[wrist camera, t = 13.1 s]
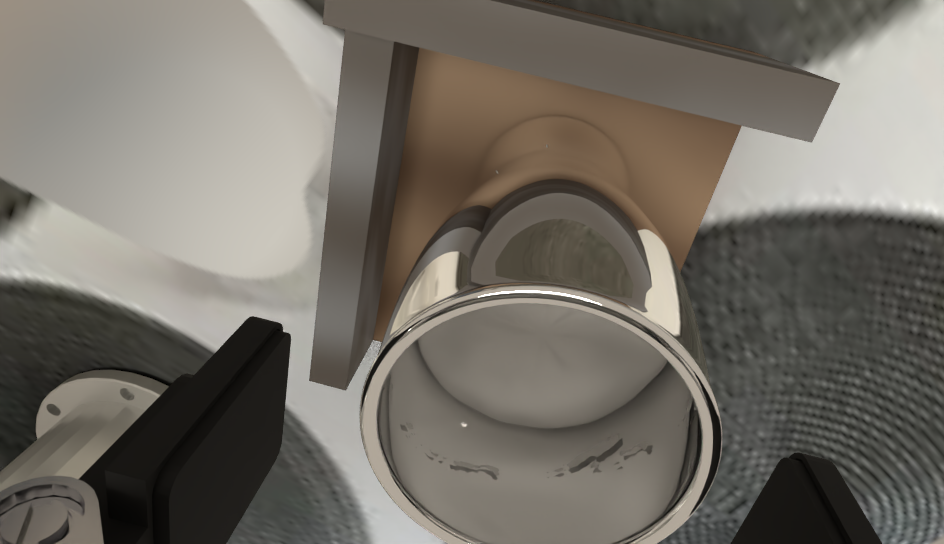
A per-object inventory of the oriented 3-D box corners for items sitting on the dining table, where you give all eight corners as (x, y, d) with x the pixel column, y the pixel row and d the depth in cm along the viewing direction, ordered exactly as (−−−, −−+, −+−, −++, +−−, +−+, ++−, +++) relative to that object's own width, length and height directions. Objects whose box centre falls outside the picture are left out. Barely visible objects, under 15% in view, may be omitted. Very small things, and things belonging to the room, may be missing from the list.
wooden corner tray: (620, 380, 30) (637, 503, 23) (354, 311, 30) (289, 411, 23) (754, 52, 23) (839, 83, 16) (401, -32, 23) (328, -39, 16)
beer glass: (678, 184, 23) (827, 454, 10) (556, 297, 26) (545, 623, 13) (546, 63, 22) (514, 186, 9) (434, 196, 25) (280, 441, 12)
